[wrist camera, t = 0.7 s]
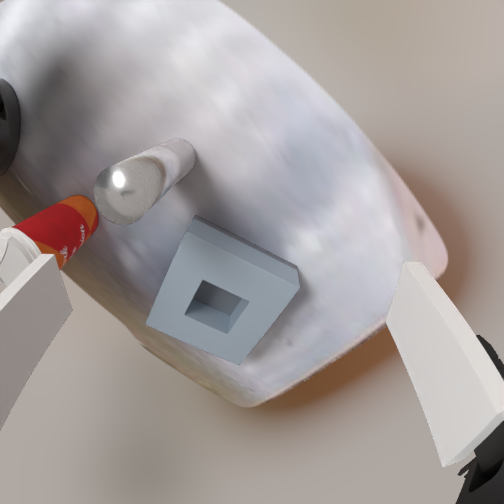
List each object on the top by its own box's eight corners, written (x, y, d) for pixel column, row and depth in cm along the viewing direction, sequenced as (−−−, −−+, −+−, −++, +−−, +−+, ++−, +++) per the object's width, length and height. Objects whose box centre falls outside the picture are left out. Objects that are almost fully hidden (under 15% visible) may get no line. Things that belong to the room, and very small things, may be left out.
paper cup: (76, 250, 36) (16, 312, 24) (49, 202, 33) (-22, 250, 21) (117, 230, 34) (55, 295, 22) (88, 175, 31) (10, 219, 19)
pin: (154, 165, 31) (87, 209, 18) (168, 132, 29) (103, 155, 17) (186, 181, 32) (136, 234, 19) (202, 148, 30) (157, 181, 17)
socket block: (155, 302, 39) (145, 324, 35) (195, 214, 33) (185, 231, 29) (241, 341, 41) (239, 365, 37) (296, 266, 36) (300, 287, 32)
